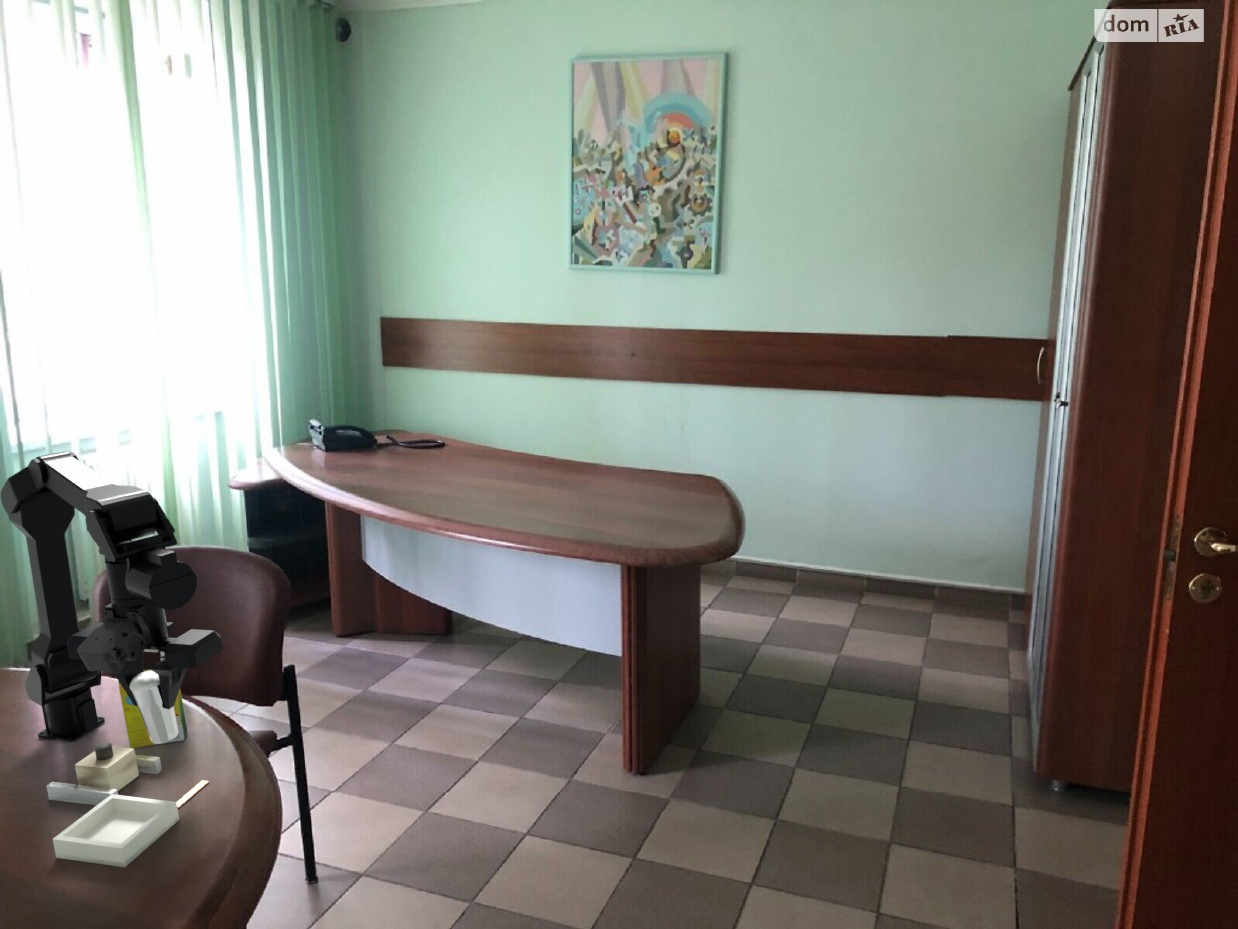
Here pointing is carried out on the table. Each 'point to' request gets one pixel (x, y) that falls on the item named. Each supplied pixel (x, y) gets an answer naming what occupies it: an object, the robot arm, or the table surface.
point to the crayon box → (137, 727)
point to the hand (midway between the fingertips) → (154, 706)
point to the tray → (116, 830)
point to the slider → (107, 767)
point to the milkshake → (154, 707)
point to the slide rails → (99, 794)
